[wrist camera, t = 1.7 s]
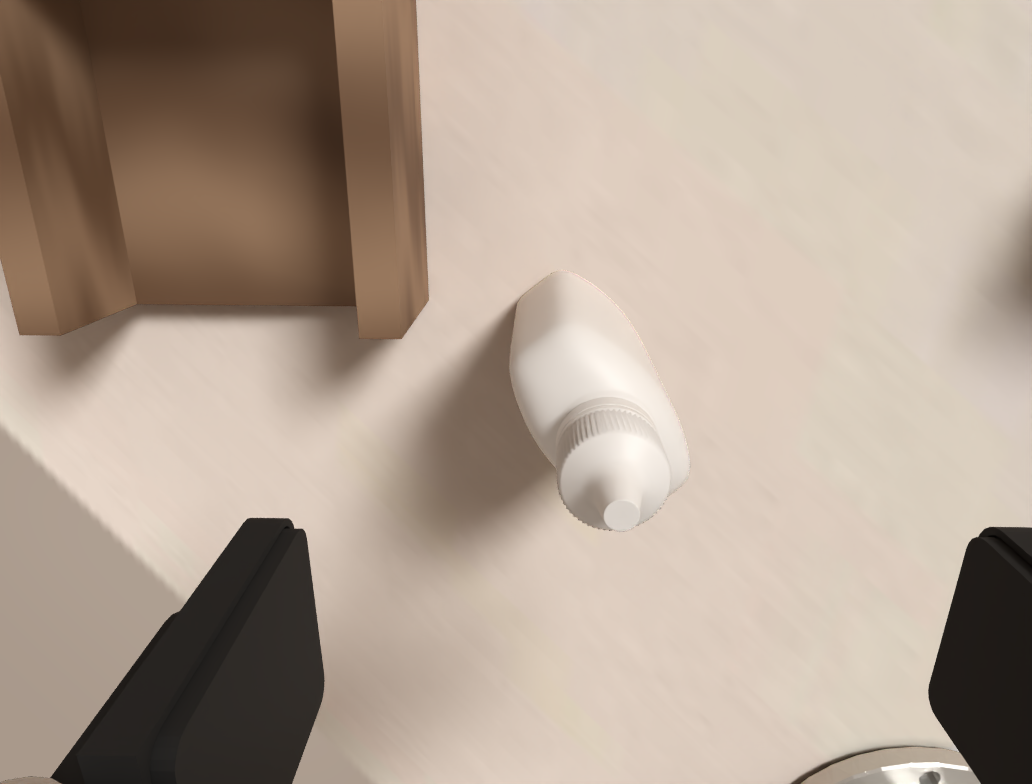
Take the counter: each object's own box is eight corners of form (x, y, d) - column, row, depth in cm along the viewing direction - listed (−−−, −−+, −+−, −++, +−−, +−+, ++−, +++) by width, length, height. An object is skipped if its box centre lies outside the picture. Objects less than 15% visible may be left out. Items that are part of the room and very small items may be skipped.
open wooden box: (428, 300, 24) (401, 339, 20) (119, 297, 25) (19, 335, 20) (412, -69, 21) (374, -129, 16) (47, -65, 21) (-96, -123, 16)
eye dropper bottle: (536, 424, 26) (532, 646, 15) (511, 274, 24) (483, 396, 13) (655, 407, 25) (745, 622, 14) (638, 254, 24) (727, 361, 12)
